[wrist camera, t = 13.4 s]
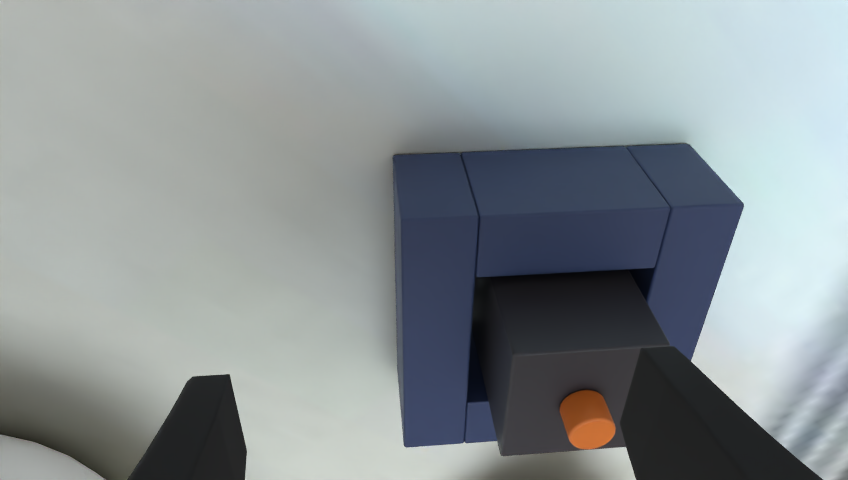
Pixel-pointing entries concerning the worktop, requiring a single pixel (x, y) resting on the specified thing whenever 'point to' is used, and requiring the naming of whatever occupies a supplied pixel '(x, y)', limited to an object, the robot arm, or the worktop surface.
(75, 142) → the worktop surface
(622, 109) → the worktop surface
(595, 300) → the grey block with knob
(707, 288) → the dock
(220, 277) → the worktop surface
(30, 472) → the vase
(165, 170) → the worktop surface
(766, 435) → the robot arm
